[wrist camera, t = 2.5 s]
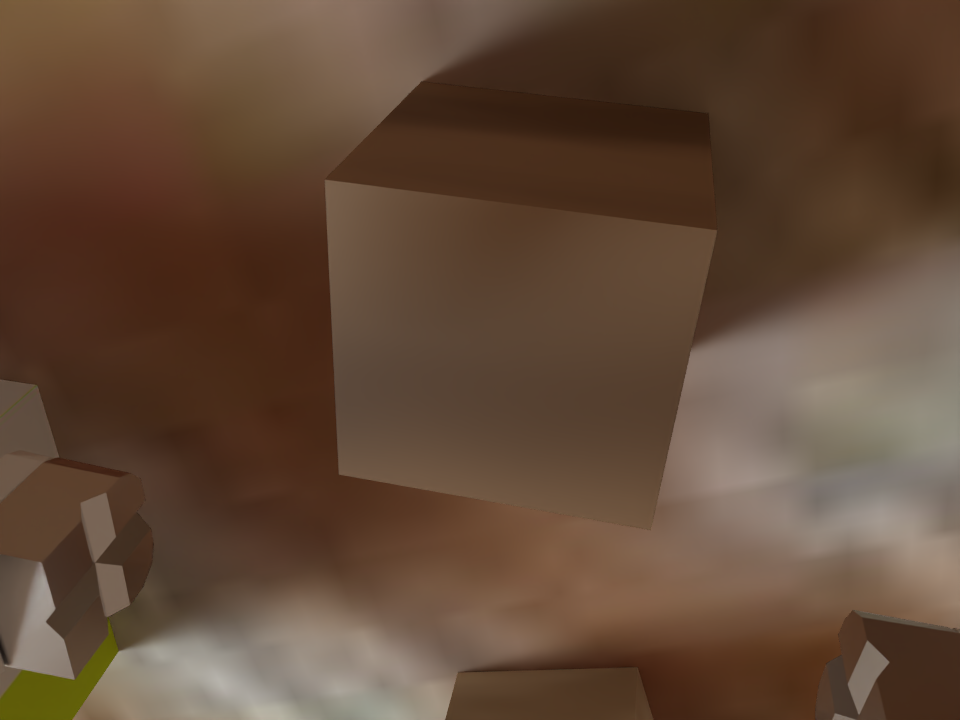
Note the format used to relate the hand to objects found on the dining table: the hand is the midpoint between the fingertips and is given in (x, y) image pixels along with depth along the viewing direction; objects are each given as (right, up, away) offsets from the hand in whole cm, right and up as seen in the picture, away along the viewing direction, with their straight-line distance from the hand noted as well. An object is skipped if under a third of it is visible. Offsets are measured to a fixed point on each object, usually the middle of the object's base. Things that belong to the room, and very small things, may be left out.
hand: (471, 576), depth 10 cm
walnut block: (+1, +5, +6) cm, 8 cm away
